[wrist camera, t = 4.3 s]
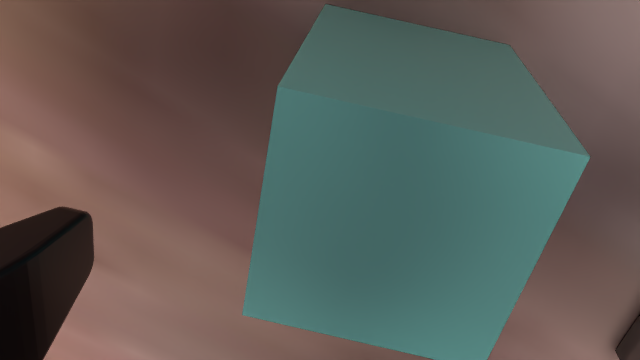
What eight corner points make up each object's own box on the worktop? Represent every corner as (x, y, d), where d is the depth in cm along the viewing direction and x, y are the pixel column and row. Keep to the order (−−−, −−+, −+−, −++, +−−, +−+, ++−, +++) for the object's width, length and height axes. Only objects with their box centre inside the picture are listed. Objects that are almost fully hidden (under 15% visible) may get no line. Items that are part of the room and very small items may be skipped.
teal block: (450, 200, 15) (481, 370, 10) (295, 165, 15) (242, 315, 10) (509, 44, 13) (590, 156, 7) (325, 3, 13) (277, 86, 7)
